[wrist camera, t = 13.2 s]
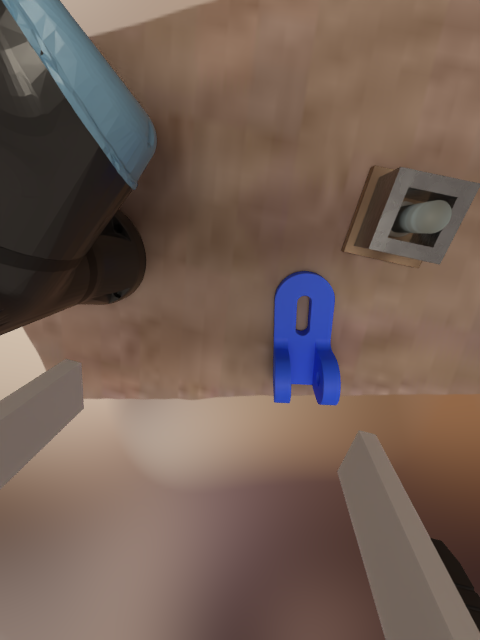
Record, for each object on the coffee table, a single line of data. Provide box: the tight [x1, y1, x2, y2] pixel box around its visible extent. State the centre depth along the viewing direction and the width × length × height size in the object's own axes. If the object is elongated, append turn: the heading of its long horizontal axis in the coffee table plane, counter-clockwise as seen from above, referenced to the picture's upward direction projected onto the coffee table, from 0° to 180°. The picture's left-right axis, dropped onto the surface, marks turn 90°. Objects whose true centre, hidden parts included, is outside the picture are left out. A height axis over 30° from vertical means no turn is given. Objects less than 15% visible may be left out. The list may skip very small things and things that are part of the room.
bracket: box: [273, 271, 341, 405], centre depth 34 cm, size 18×8×9 cm, turn 2°
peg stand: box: [342, 166, 452, 268], centre depth 27 cm, size 10×10×8 cm
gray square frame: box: [354, 167, 480, 264], centre depth 27 cm, size 8×8×5 cm
